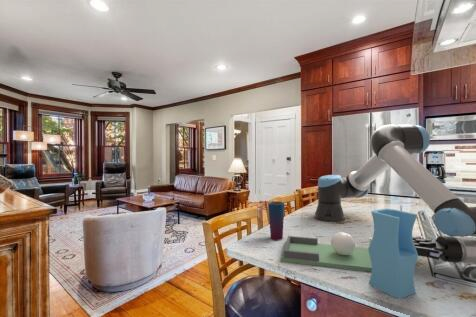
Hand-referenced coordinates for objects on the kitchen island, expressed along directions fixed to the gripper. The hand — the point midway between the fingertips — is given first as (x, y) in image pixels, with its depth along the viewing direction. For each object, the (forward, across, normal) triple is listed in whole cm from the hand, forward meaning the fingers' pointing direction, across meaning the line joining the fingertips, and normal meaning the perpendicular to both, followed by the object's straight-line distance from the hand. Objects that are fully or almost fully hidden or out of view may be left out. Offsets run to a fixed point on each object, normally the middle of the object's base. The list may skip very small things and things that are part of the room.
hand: (369, 242), depth 78 cm
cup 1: (+32, +14, -6) cm, 36 cm away
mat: (+11, 0, -6) cm, 13 cm away
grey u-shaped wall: (+21, 0, -5) cm, 22 cm away
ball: (+8, 0, -1) cm, 8 cm away
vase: (-2, -16, -6) cm, 17 cm away
